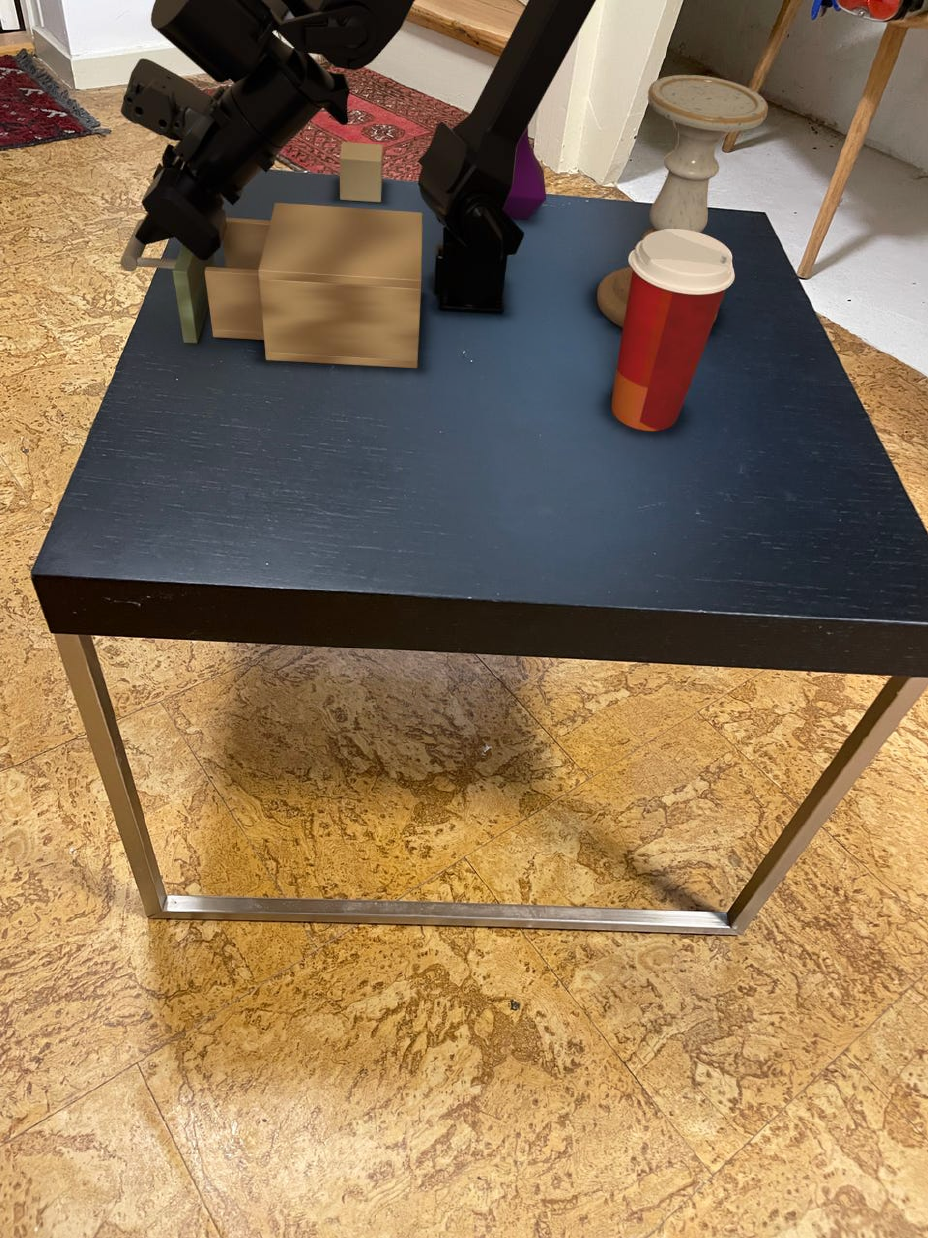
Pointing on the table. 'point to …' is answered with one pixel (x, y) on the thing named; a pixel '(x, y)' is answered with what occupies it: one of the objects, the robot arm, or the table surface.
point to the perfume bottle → (525, 183)
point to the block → (361, 171)
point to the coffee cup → (667, 323)
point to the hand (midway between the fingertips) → (140, 238)
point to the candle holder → (687, 160)
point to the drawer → (215, 282)
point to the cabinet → (342, 285)
